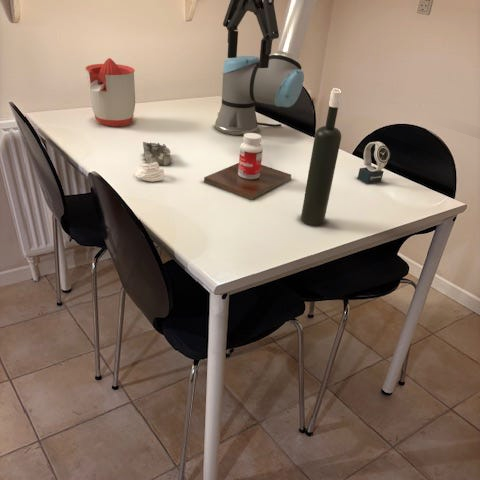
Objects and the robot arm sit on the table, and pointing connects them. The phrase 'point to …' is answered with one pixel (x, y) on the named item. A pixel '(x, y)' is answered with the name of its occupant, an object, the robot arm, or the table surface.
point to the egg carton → (156, 153)
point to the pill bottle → (250, 156)
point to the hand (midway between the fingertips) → (247, 62)
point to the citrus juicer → (112, 93)
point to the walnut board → (247, 181)
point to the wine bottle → (322, 166)
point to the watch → (370, 172)
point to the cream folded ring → (150, 172)
